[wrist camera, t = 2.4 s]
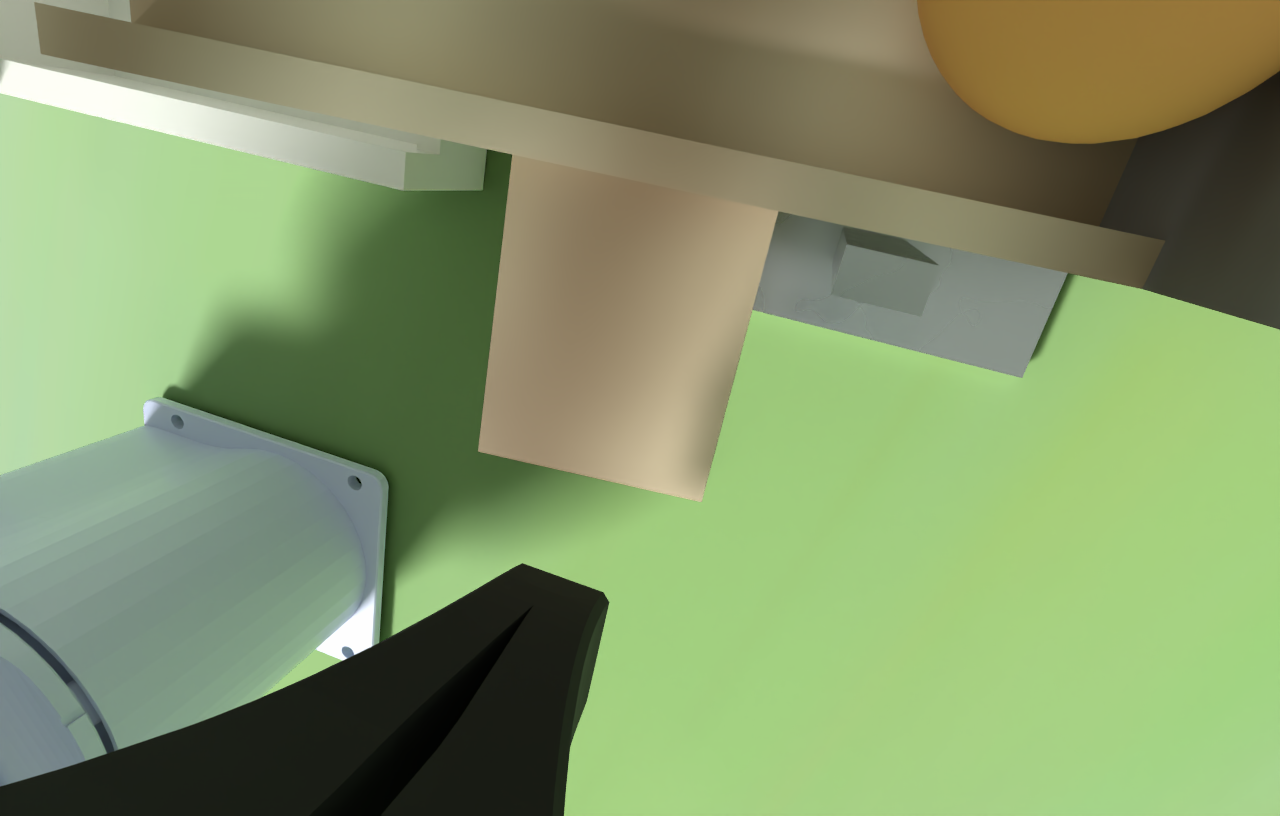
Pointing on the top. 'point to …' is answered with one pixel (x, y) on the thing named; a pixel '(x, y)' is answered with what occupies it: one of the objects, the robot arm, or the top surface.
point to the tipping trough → (710, 179)
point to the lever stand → (907, 293)
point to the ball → (1100, 61)
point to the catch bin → (225, 113)
